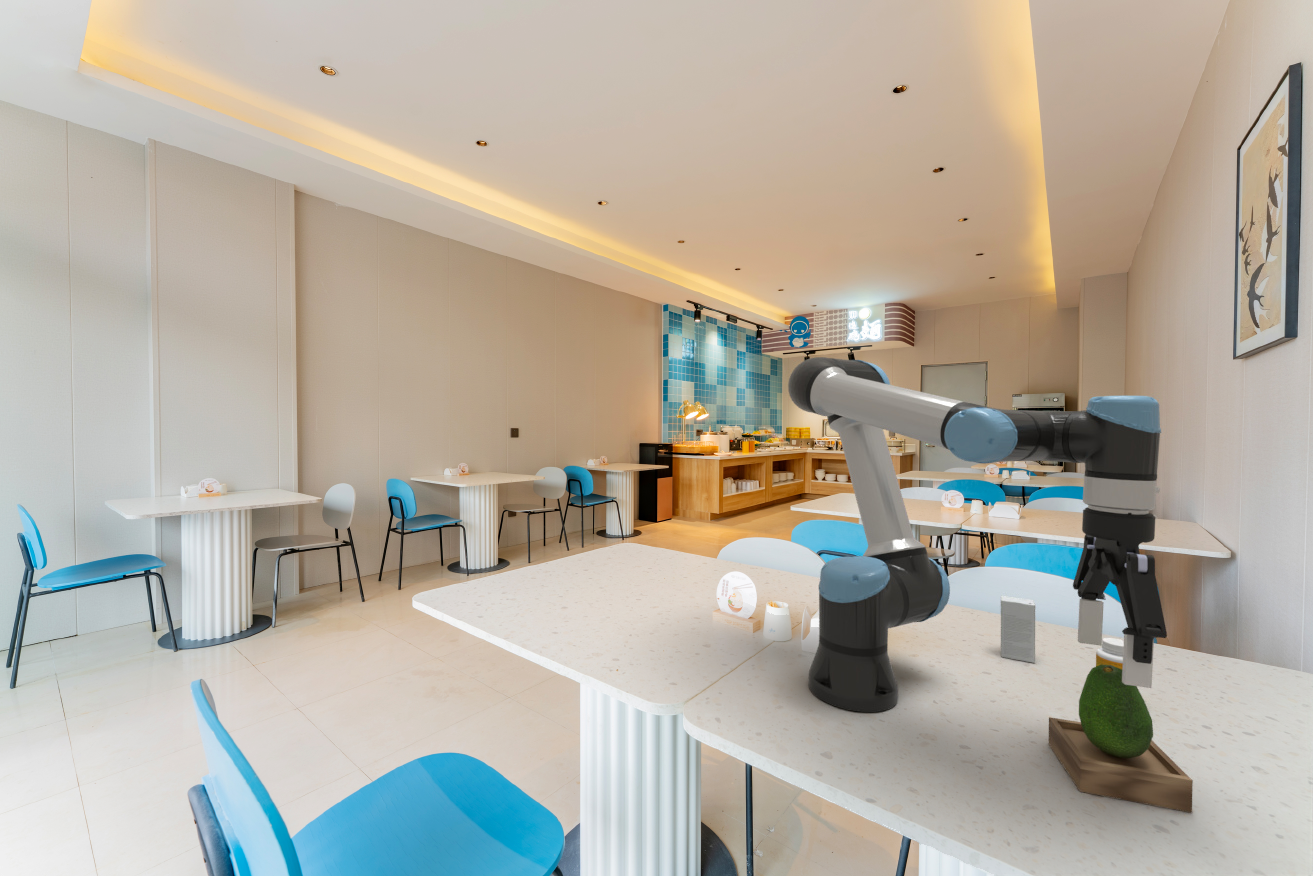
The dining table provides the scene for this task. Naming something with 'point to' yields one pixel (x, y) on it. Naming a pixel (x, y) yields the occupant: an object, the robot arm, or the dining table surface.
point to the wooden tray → (1120, 770)
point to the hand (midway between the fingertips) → (1110, 662)
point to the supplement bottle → (1110, 653)
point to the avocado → (1114, 714)
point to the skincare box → (1018, 629)
